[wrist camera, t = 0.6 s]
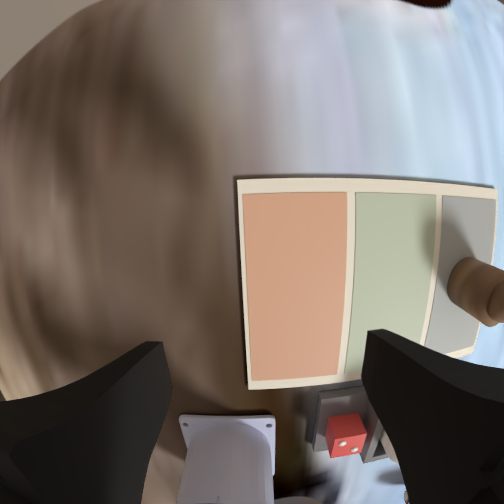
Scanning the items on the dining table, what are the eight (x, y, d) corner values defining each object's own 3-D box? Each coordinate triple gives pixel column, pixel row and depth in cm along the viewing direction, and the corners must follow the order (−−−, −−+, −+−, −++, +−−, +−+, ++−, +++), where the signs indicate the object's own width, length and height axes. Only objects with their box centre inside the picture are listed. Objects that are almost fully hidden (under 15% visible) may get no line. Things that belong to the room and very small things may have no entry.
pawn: (476, 301, 19) (522, 331, 13) (443, 307, 19) (490, 342, 13) (483, 255, 18) (535, 276, 12) (450, 258, 18) (504, 283, 12)
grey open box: (414, 423, 22) (428, 446, 19) (312, 444, 22) (318, 473, 19) (433, 370, 21) (453, 392, 17) (318, 391, 21) (328, 422, 17)
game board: (470, 351, 20) (472, 353, 20) (248, 387, 21) (248, 390, 20) (495, 189, 17) (498, 189, 17) (237, 180, 17) (237, 179, 17)
